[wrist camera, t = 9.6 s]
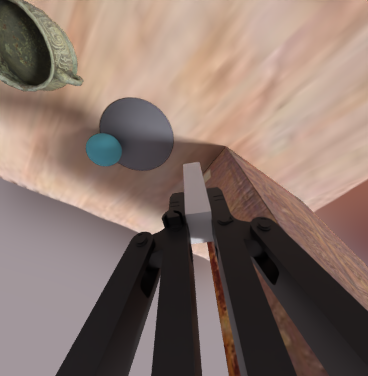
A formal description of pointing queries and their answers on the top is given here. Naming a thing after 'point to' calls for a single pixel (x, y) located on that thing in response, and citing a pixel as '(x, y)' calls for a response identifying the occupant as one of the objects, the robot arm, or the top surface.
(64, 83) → the vessel
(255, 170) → the book
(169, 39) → the top surface
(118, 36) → the top surface
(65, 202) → the top surface
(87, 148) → the ball
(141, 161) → the disc
